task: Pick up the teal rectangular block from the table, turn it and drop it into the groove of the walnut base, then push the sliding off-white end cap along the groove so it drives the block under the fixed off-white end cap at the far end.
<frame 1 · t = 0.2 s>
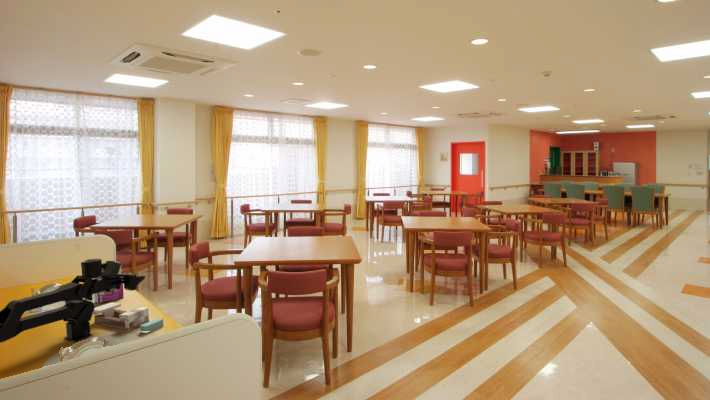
hand: (137, 276, 176), 17 cm above the sink counter, tool horizontal, fingers open, 9 cm apart
sliding cap: (106, 311, 171), point 4 cm above the sink counter, slide at 7.0 cm
teal rectangular block: (152, 329, 161), on the sink counter
candy bar box: (109, 300, 198), on the sink counter
slat base: (121, 322, 168), on the sink counter
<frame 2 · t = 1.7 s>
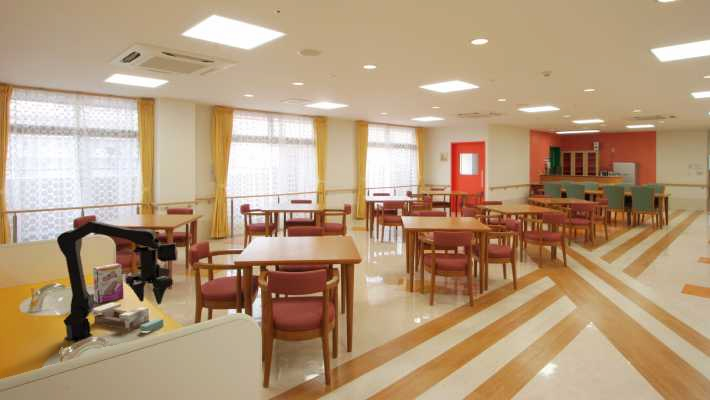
hand: (150, 302, 160), 10 cm above the sink counter, tool pointing down, fingers open, 9 cm apart
nothing on the sink counter moved.
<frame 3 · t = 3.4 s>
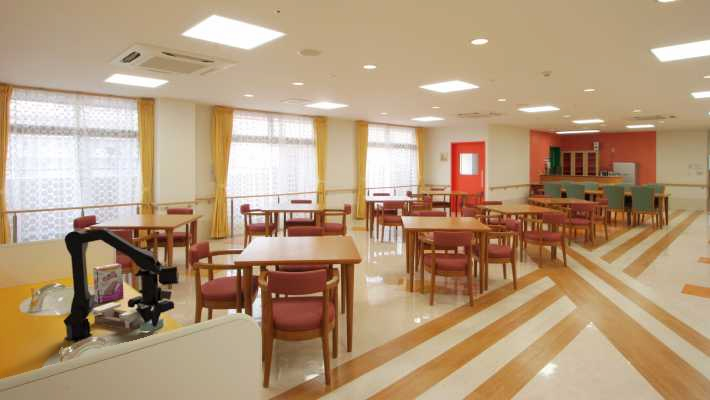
hand: (152, 325, 161), 1 cm above the sink counter, tool pointing down, fingers closed on teal rectangular block, 3 cm apart
teal rectangular block: (152, 329, 161), on the sink counter, touching gripper
everything else where it was.
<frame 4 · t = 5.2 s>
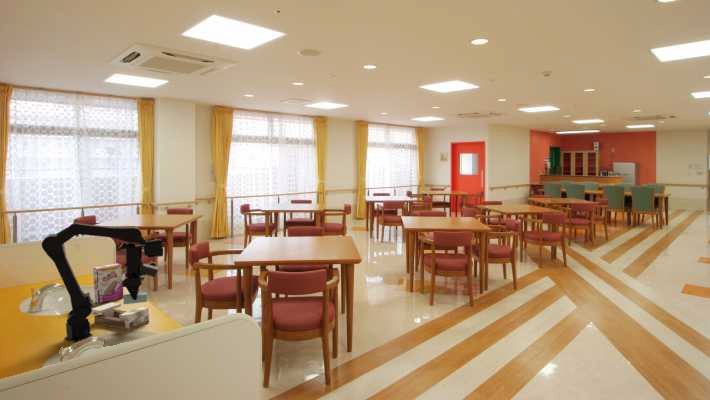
hand: (135, 298, 163), 11 cm above the sink counter, tool pointing down, fingers closed on teal rectangular block, 3 cm apart
teal rectangular block: (135, 301, 163), point 10 cm above the sink counter, touching gripper
everything else where it was.
when the fingers open (4 cm above the sink counter, at t = 7.5 s): teal rectangular block drops 1 cm, resting on slat base.
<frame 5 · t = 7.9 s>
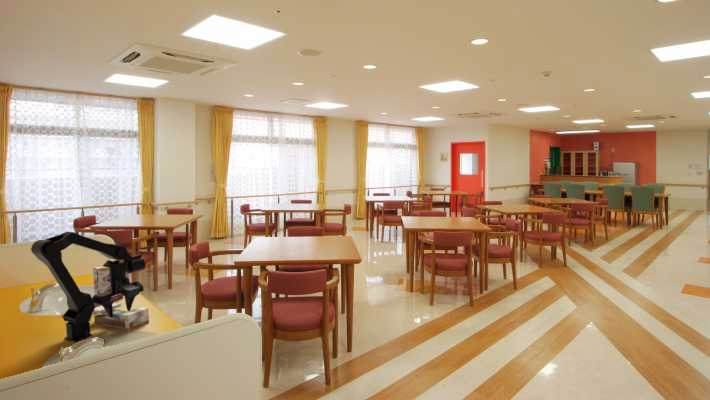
hand: (120, 314, 168), 4 cm above the sink counter, tool pointing down, fingers open, 7 cm apart
teal rectangular block: (120, 320, 168), point 1 cm above the sink counter, touching slat base
everything else where it was.
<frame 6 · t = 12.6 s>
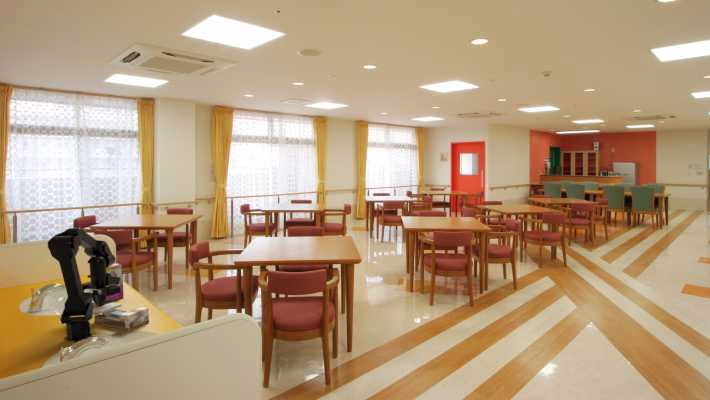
hand: (100, 308, 173), 4 cm above the sink counter, tool pointing down, fingers closed
sliding cap: (107, 311, 171), point 4 cm above the sink counter, slide at 6.6 cm, touching gripper
everything else where it was.
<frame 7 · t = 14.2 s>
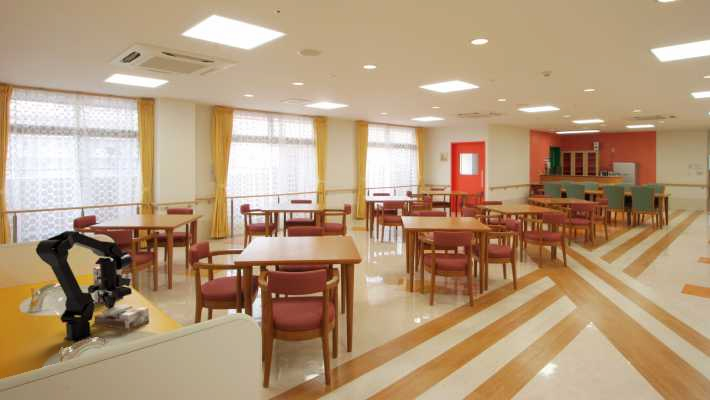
hand: (110, 310, 170), 4 cm above the sink counter, tool pointing down, fingers closed
sliding cap: (117, 313, 169), point 4 cm above the sink counter, slide at 0.4 cm, touching gripper
teal rectangular block: (127, 321, 167), point 1 cm above the sink counter, touching slat base
everything else where it was.
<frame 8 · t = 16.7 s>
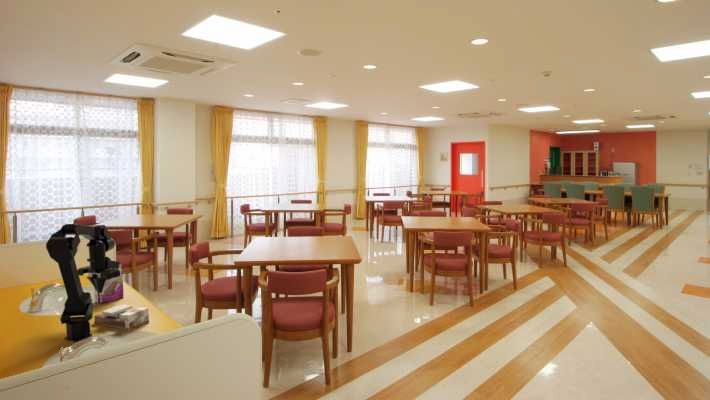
hand: (100, 292, 172), 11 cm above the sink counter, tool pointing down, fingers closed
sliding cap: (117, 313, 169), point 4 cm above the sink counter, slide at 0.4 cm, touching teal rectangular block
teal rectangular block: (127, 321, 167), point 1 cm above the sink counter, touching slat base, sliding cap
everything else where it was.
at the end: sliding cap slide at 0.4 cm; teal rectangular block 0.4 cm from the target spot on the slat base, point 1.0 cm above the slat base's base; the gripper is holding nothing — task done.
